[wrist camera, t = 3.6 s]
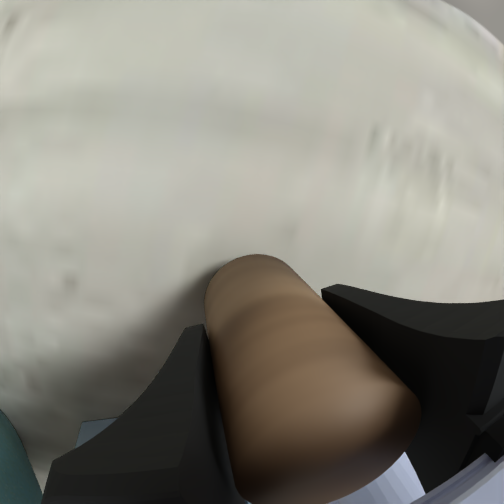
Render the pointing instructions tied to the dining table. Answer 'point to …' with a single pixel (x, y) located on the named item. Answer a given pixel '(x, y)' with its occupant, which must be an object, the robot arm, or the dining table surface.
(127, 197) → the dining table surface
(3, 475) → the teal bowl
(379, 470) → the peg
